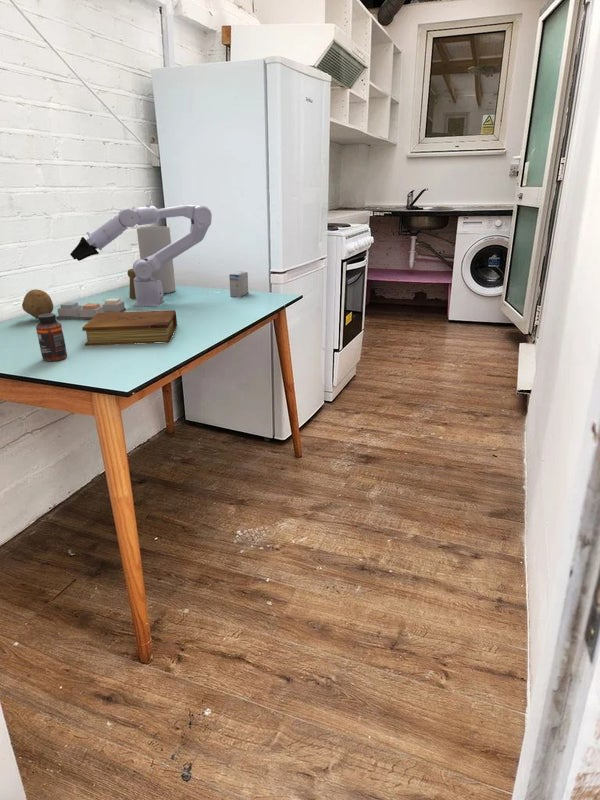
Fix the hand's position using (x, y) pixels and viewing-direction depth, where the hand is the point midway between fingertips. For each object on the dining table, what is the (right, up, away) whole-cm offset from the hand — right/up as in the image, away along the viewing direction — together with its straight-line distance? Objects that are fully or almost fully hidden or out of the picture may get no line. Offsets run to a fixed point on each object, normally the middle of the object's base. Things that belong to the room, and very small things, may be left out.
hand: (74, 257), depth 183 cm
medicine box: (+53, -8, +28) cm, 61 cm away
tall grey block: (+20, -5, +36) cm, 41 cm away
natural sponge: (-8, -23, -7) cm, 25 cm away
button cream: (+13, -16, +1) cm, 21 cm away
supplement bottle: (+15, -38, -46) cm, 62 cm away
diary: (+28, -30, -26) cm, 49 cm away
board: (+7, -20, -1) cm, 21 cm away
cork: (+14, -9, +25) cm, 30 cm away
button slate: (0, -19, -4) cm, 19 cm away
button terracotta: (+8, -19, -6) cm, 22 cm away
